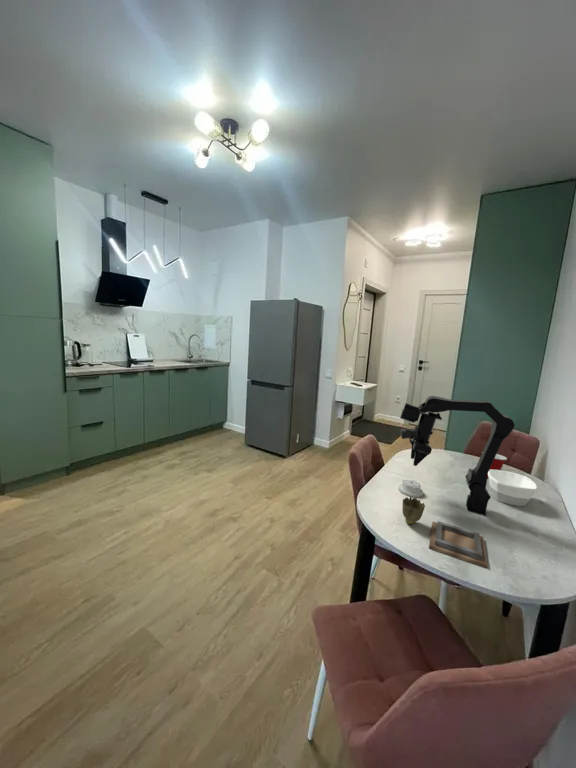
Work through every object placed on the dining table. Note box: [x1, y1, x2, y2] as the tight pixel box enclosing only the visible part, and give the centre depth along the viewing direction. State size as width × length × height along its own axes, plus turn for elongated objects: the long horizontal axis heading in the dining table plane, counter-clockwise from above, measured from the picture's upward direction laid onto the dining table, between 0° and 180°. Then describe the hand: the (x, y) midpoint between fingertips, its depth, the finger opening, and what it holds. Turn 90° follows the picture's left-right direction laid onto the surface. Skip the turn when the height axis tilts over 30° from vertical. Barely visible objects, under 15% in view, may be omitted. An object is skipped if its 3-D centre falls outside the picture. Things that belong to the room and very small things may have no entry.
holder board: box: [428, 520, 488, 569], centre depth 110 cm, size 16×16×2 cm
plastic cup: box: [487, 453, 508, 480], centre depth 166 cm, size 11×11×12 cm
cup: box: [402, 496, 426, 526], centre depth 119 cm, size 8×7×8 cm
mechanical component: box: [397, 478, 424, 498], centre depth 144 cm, size 10×4×10 cm
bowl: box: [487, 469, 538, 507], centre depth 145 cm, size 18×18×9 cm
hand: (413, 461), depth 138 cm, fingers open, 9 cm apart
